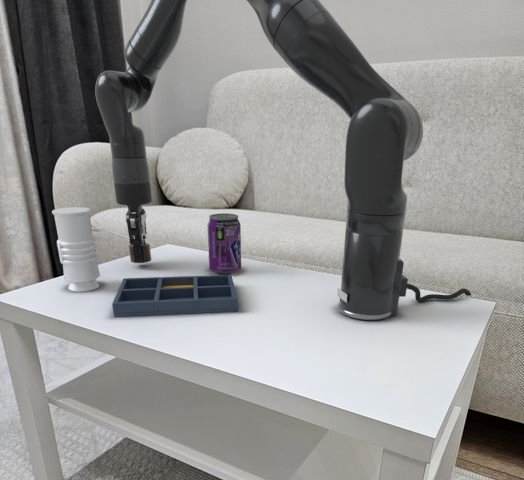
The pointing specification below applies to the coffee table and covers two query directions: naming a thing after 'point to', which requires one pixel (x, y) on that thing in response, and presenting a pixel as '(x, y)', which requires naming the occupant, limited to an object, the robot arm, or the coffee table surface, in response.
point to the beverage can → (224, 243)
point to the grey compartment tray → (175, 295)
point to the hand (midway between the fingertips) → (140, 258)
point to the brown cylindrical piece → (146, 253)
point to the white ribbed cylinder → (77, 248)
